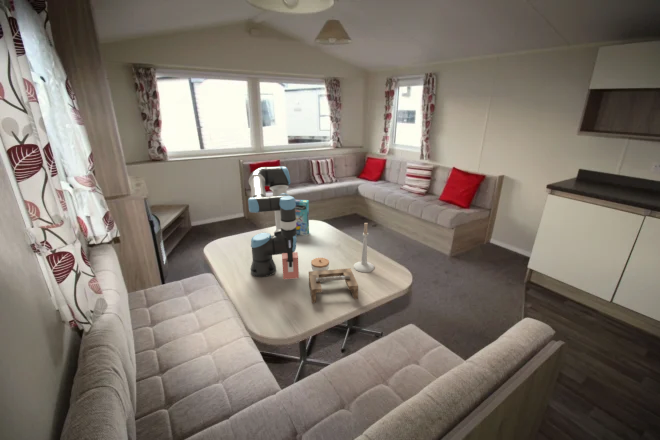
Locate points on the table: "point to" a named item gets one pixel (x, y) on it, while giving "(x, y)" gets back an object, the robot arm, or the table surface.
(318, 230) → the table surface
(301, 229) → the game box
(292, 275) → the salmon red channel block
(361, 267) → the candlestick
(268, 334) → the table surface
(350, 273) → the wooden frame with rod
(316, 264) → the lidded jar
